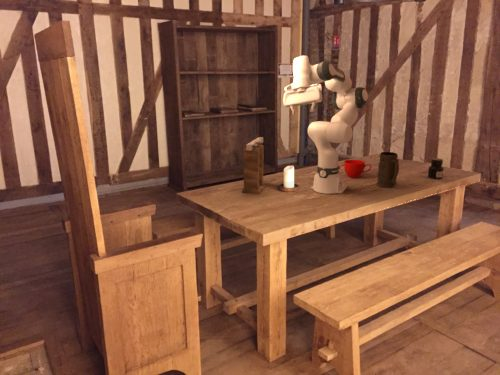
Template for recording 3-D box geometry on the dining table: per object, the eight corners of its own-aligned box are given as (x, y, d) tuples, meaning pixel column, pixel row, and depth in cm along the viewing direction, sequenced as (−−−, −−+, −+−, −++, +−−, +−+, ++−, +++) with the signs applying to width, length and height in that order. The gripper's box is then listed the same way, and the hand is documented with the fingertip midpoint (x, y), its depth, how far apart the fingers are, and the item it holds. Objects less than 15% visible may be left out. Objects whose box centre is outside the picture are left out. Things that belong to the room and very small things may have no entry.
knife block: (248, 186, 258) (248, 141, 251) (264, 187, 256) (265, 141, 248) (242, 192, 246) (242, 144, 239) (259, 193, 243) (259, 145, 236)
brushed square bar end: (258, 142, 259) (258, 137, 258) (263, 142, 258) (263, 137, 257) (246, 150, 235) (246, 144, 234) (251, 150, 234) (251, 144, 233)
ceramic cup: (370, 180, 274) (372, 164, 271) (343, 178, 277) (344, 163, 274) (369, 175, 286) (370, 160, 283) (343, 174, 289) (344, 159, 286)
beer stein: (371, 184, 265) (376, 151, 258) (385, 181, 270) (389, 150, 263) (390, 192, 252) (395, 158, 246) (403, 189, 257) (409, 156, 250)
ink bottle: (440, 180, 275) (442, 161, 272) (425, 178, 280) (427, 159, 277) (444, 177, 283) (446, 158, 279) (430, 175, 288) (432, 157, 284)
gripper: (323, 84, 223) (324, 111, 221) (286, 91, 232) (287, 117, 231) (319, 80, 217) (320, 107, 215) (281, 88, 227) (282, 114, 225)
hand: (303, 112), depth 223 cm, fingers open, 8 cm apart
